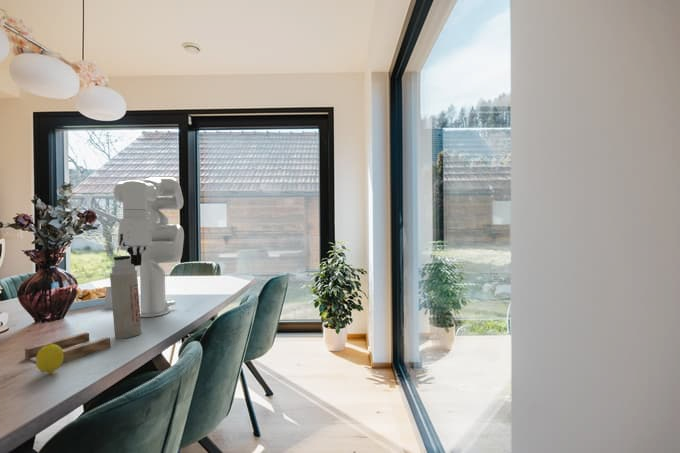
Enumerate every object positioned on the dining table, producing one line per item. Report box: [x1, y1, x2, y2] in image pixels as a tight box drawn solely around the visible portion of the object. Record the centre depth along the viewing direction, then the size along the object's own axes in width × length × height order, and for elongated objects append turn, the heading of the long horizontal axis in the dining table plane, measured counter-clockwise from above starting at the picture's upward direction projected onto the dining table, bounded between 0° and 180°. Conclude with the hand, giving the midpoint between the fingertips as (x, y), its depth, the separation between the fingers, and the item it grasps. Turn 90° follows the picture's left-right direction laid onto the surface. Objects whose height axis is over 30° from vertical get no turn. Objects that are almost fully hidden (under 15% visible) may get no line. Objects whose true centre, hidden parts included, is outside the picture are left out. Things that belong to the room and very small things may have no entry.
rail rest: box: [24, 331, 112, 364], centre depth 103 cm, size 16×14×3 cm
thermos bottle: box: [109, 255, 142, 339], centre depth 118 cm, size 8×8×28 cm
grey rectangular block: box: [104, 286, 113, 310], centre depth 159 cm, size 4×7×10 cm, turn 110°
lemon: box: [35, 343, 64, 375], centre depth 89 cm, size 6×6×8 cm
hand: (136, 265), depth 122 cm, fingers closed
